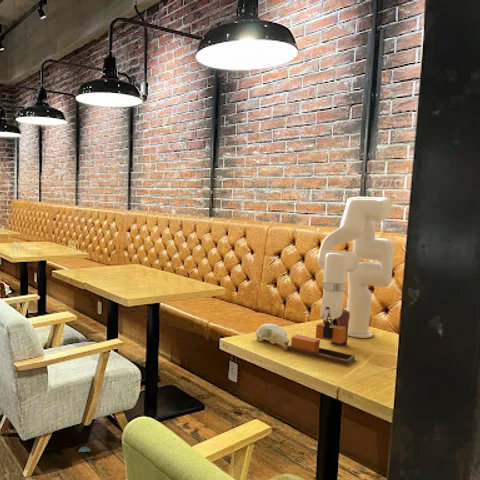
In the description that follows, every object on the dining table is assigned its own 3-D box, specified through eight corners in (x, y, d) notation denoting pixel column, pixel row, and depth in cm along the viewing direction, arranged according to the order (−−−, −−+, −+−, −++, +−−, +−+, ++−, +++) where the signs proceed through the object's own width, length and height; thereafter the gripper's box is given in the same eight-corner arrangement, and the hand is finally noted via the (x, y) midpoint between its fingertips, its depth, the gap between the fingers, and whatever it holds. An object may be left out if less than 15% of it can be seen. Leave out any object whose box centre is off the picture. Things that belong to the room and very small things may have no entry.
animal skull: (273, 352, 180) (270, 325, 182) (253, 349, 196) (250, 324, 197) (297, 349, 183) (294, 322, 185) (275, 346, 199) (273, 321, 200)
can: (348, 347, 190) (351, 312, 189) (331, 346, 192) (334, 311, 190) (346, 343, 196) (348, 309, 195) (329, 341, 198) (332, 308, 196)
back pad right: (320, 335, 181) (321, 322, 180) (345, 340, 175) (346, 327, 174) (315, 338, 177) (316, 324, 176) (340, 343, 171) (341, 329, 171)
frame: (296, 347, 189) (296, 342, 189) (354, 361, 175) (354, 355, 175) (287, 351, 182) (287, 346, 182) (346, 366, 168) (347, 361, 168)
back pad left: (296, 347, 187) (297, 334, 187) (319, 352, 181) (319, 339, 181) (290, 349, 183) (291, 337, 183) (313, 355, 178) (314, 342, 177)
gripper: (332, 283, 183) (328, 330, 185) (314, 288, 170) (311, 338, 171) (352, 286, 178) (348, 334, 180) (336, 291, 165) (332, 343, 167)
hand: (330, 336), depth 176 cm, fingers closed on back pad right, 5 cm apart
